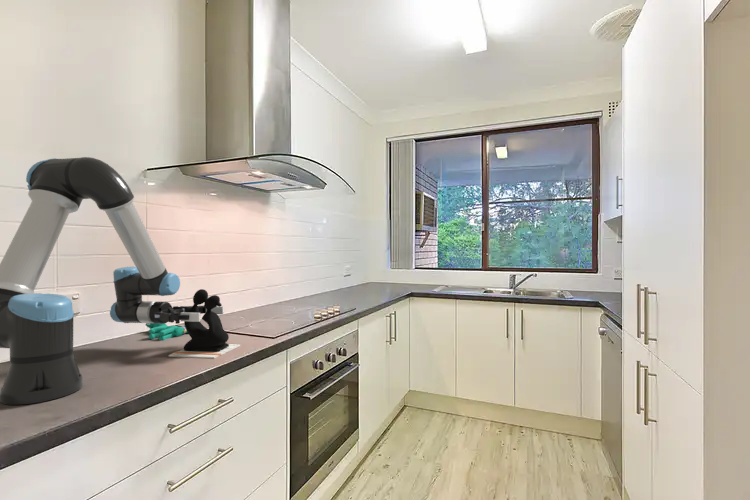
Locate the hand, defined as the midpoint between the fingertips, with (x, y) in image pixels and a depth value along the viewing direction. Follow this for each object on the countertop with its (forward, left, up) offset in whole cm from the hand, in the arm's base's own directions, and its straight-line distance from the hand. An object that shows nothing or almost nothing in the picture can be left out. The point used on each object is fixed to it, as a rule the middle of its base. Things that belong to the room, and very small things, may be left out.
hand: (212, 313), depth 133 cm
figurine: (0, +2, -12) cm, 12 cm away
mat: (-1, +2, -12) cm, 12 cm away
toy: (+21, +33, -13) cm, 41 cm away
